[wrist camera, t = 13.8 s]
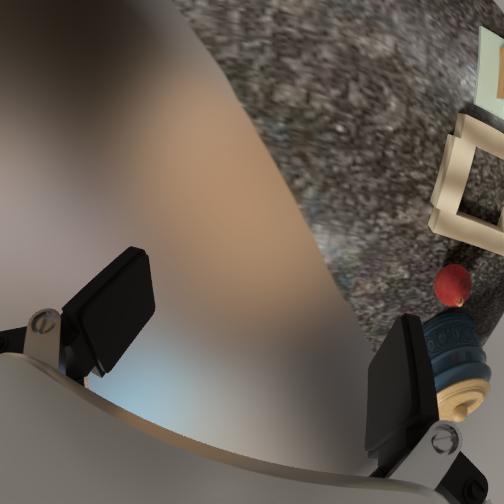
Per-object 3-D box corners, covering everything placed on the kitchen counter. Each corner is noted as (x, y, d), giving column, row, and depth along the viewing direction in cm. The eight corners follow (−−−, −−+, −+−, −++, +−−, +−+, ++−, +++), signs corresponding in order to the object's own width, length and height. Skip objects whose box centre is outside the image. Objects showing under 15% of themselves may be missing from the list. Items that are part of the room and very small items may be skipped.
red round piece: (444, 247, 34) (462, 279, 27) (468, 263, 33) (487, 295, 27) (422, 277, 37) (434, 312, 30) (447, 291, 37) (460, 326, 30)
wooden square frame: (452, 110, 25) (460, 111, 23) (533, 154, 22) (543, 158, 20) (423, 222, 33) (427, 230, 31) (502, 249, 30) (508, 257, 28)
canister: (400, 332, 43) (409, 422, 28) (464, 297, 36) (496, 383, 22) (423, 368, 46) (431, 445, 31) (479, 339, 39) (501, 416, 24)
